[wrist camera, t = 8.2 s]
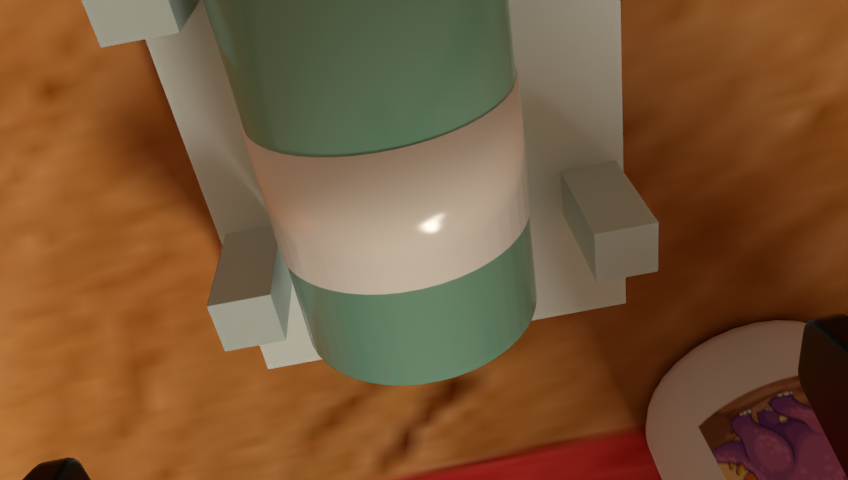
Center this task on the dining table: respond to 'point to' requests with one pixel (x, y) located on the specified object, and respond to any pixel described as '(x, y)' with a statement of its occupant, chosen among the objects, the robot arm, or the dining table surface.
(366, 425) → the dining table surface
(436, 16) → the bottle
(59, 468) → the robot arm
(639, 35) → the dining table surface
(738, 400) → the milk bottle
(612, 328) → the dining table surface
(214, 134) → the white four-legged tray
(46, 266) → the dining table surface
